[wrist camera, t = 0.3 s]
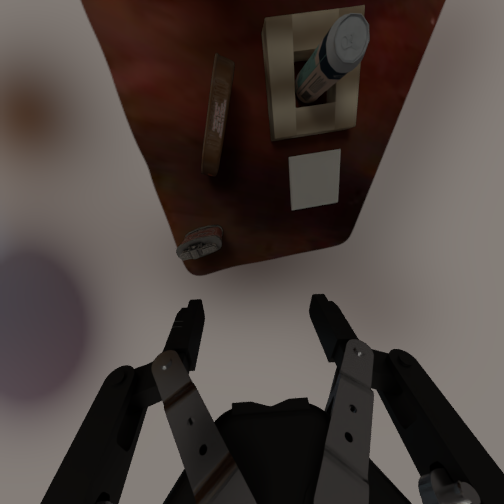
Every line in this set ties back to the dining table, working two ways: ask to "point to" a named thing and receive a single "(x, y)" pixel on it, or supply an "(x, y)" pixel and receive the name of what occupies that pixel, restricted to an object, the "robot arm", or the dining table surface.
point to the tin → (217, 114)
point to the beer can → (333, 57)
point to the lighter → (200, 242)
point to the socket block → (283, 84)
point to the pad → (314, 179)
